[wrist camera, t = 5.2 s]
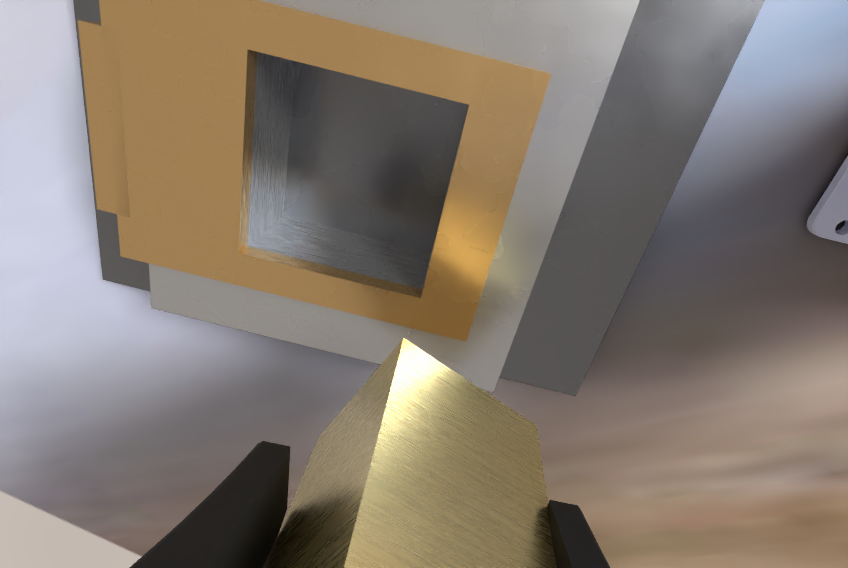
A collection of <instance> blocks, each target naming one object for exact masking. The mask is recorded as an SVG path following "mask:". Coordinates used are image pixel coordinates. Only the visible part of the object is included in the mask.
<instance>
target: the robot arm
mask: <svg viewBox="0 0 848 568" xmlns="http://www.w3.org/2000/svg"><path fill="white" fill-rule="evenodd" d="M844 220H845V224H844V226H843V227H842V228H841V229H839V230H837V231H835V228H836V226H837V225H838V224H839V223H840V222H842V221H844ZM807 228H808V230H809V231H810V232H811V233H813V234H815V235H817V236H819V237H821V238H825V239H829V240H833V241H838V242H842V243H846V244H848V156H847V158H846V159H845V161H844V162H843V164H842V165H841V167H840V169H839V170H838V172H837V173H836V175H835V177H834V178H833V180H832V181H831V183H830V184H829V186H828V188H827V189H826V191H825V192H824V194H823V196H822V197H821V199H820V200H819V202H818V203H817V205H816V207H815V208H814V210H813V211H812V213H811V215H810V216H809V218H808V221H807ZM289 460H290V447H289V446H284V445H280V444H275V443H270V442H265V441H262V442H261V443H259V444H257V446H256V447H255V448H254V449H253V450H252V451H251V452H250V453H249V454H248V456H247V457H246V458H245V459H244V460H243V461H242V462H241V463H240V464H239V465H238V466H237V467H236V468H235V469H234V471H233V472H232V473H231V474H230V475H229V476H228V477H227V478H226V479H225V480H224V481H223V482H222V483H221V484H220V485H219V486H218V487H217V488H216V489H215V490H214V491H213V492H212V493H211V494H210V495H209V496H208V497H207V498H206V499H205V500H204V501H203V502H202V503H201V504H199V505H198V506H197V507H196V508H195V509H194V510H193V511H192V512H191V513H190V514H189V515H188V516H187V517H186V518H185V519H184V520H183V521H182V522H181V523H180V524H179V525H177V526H176V527H175V528H174V529H173V530H172V531H171V532H170V533H169V534H167V535H166V536H165V537H164V538H163V539H162V540H161V541H159V542H158V543H157V544H156V545H155V546H154V547H153V548H152V549H150V550H149V551H148V552H147V553H146V554H145V555H144V556H142V557H141V558H140V559H139V560H138V561H137V562H136V563H134V564H133V565H132V566H131V567H130V568H265V566H266V564H267V561H268V559H269V556H270V554H271V552H272V549H273V547H274V544H275V542H276V539H277V536H278V533H279V531H280V528H281V525H282V522H283V519H284V516H285V513H286V510H287V499H288V480H289ZM547 510H548V517H549V524H550V531H551V538H552V544H553V551H554V556H555V561H556V565H557V568H610V566H609V565H608V563H607V561H606V559H605V557H604V555H603V553H602V551H601V549H600V547H599V545H598V543H597V541H596V539H595V537H594V535H593V533H592V531H591V529H590V527H589V525H588V523H587V521H586V519H585V517H584V515H583V513H582V511H581V510H580V508H579V507H578V506H577V505H572V504H567V503H562V502H558V501H553V500H550V501H549V503H548V506H547Z"/></svg>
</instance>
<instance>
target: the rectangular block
mask: <svg viewBox="0 0 848 568" xmlns="http://www.w3.org/2000/svg"><path fill="white" fill-rule="evenodd" d="M547 506H548V499H547V492H546V486H545V479H544V472H543V466H542V459H541V452H540V445H539V439H538V432H537V426H536V425H535V424H533V423H532V422H530V421H529V420H527V419H526V418H524V417H522V416H521V415H519V414H518V413H516V412H515V411H513V410H512V409H510V408H509V407H507V406H506V405H504V404H503V403H501V402H500V401H498V400H497V399H495V398H494V397H492V396H491V395H489V394H488V393H486V392H485V391H483V390H482V389H480V388H479V387H477V386H476V385H474V384H473V383H471V382H470V381H468V380H466V379H465V378H463V377H462V376H460V375H459V374H457V373H456V372H454V371H453V370H451V369H450V368H448V367H447V366H445V365H444V364H442V363H441V362H439V361H438V360H436V359H435V358H433V357H432V356H430V355H429V354H427V353H426V352H424V351H423V350H421V349H420V348H418V347H417V346H415V345H413V344H412V343H410V342H409V341H407V340H406V339H404V338H403V340H402V341H401V342H400V343H399V344H398V345H397V347H396V348H395V349H394V350H393V351H392V352H391V354H390V355H389V356H388V357H387V358H386V359H385V360H384V362H383V363H382V364H381V365H380V366H379V367H378V369H377V370H376V371H375V372H374V373H373V374H372V376H371V377H370V378H369V379H368V380H367V381H366V383H365V384H364V385H363V386H362V387H361V388H360V389H359V391H358V392H357V393H356V394H355V395H354V396H353V398H352V399H351V400H350V401H349V402H348V403H347V405H346V406H345V407H344V408H343V409H342V410H341V412H340V413H339V414H338V415H337V416H336V417H335V418H334V420H333V421H332V422H331V423H330V424H329V425H328V427H327V428H326V429H325V430H324V431H323V432H322V434H321V435H320V436H319V438H318V440H317V443H316V445H315V447H314V450H313V452H312V455H311V457H310V460H309V462H308V464H307V467H306V469H305V472H304V474H303V477H302V479H301V481H300V484H299V486H298V489H297V491H296V493H295V496H294V498H293V501H292V503H291V506H290V508H289V510H288V513H287V515H286V518H285V520H284V523H283V525H282V527H281V530H280V532H279V535H278V537H277V539H276V542H275V544H274V547H273V549H272V552H271V554H270V556H269V559H268V561H267V564H266V566H265V568H557V565H556V561H555V556H554V551H553V544H552V538H551V531H550V524H549V517H548V510H547Z"/></svg>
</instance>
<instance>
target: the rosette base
mask: <svg viewBox="0 0 848 568" xmlns="http://www.w3.org/2000/svg"><path fill="white" fill-rule="evenodd" d="M764 1H765V0H74V10H75V19H76V29H77V38H78V48H79V57H80V67H81V76H82V86H83V95H84V105H85V114H86V124H87V133H88V143H89V152H90V162H91V171H92V181H93V190H94V200H95V209H96V219H97V228H98V238H99V247H100V257H101V266H102V276H103V280H107V281H111V282H115V283H119V284H123V285H127V286H131V287H135V288H139V289H143V290H147V291H150V293H151V308H154V309H158V310H162V311H166V312H170V313H174V314H178V315H182V316H186V317H190V318H194V319H198V320H202V321H206V322H210V323H215V324H219V325H223V326H227V327H231V328H235V329H239V330H243V331H247V332H251V333H255V334H259V335H263V336H267V337H271V338H275V339H280V340H284V341H288V342H292V343H296V344H300V345H304V346H308V347H312V348H316V349H320V350H324V351H328V352H332V353H336V354H340V355H345V356H349V357H353V358H357V359H361V360H365V361H369V362H373V363H377V364H382V363H383V362H384V360H385V359H386V358H387V357H388V356H389V355H390V354H391V352H392V351H393V350H394V349H395V348H396V347H397V345H398V344H399V343H400V342H401V341H402V340H403V338H404V339H406V340H407V341H409V342H410V343H412V344H413V345H415V346H417V347H418V348H420V349H421V350H423V351H424V352H426V353H427V354H429V355H430V356H432V357H433V358H435V359H436V360H438V361H439V362H441V363H442V364H444V365H445V366H447V367H448V368H450V369H451V370H453V371H454V372H456V373H457V374H459V375H460V376H462V377H463V378H465V379H466V380H468V381H470V382H471V383H473V384H474V385H476V386H477V387H479V388H480V389H483V390H487V391H491V392H494V390H495V387H496V384H497V382H498V379H499V377H500V378H505V379H509V380H513V381H517V382H521V383H525V384H529V385H533V386H537V387H541V388H545V389H549V390H553V391H557V392H561V393H565V394H569V395H573V396H576V394H577V392H578V389H579V387H580V385H581V383H582V381H583V379H584V377H585V375H586V373H587V371H588V369H589V366H590V364H591V362H592V360H593V358H594V356H595V354H596V352H597V350H598V348H599V346H600V343H601V341H602V339H603V337H604V335H605V333H606V331H607V329H608V327H609V325H610V323H611V320H612V318H613V316H614V314H615V312H616V310H617V308H618V306H619V304H620V302H621V300H622V297H623V295H624V293H625V291H626V289H627V287H628V285H629V283H630V281H631V279H632V277H633V275H634V272H635V270H636V268H637V266H638V264H639V262H640V260H641V258H642V256H643V254H644V252H645V249H646V247H647V245H648V243H649V241H650V239H651V237H652V235H653V233H654V231H655V229H656V226H657V224H658V222H659V220H660V218H661V216H662V214H663V212H664V210H665V208H666V206H667V203H668V201H669V199H670V197H671V195H672V193H673V191H674V189H675V187H676V185H677V183H678V180H679V178H680V176H681V174H682V172H683V170H684V168H685V166H686V164H687V162H688V160H689V157H690V155H691V153H692V151H693V149H694V147H695V145H696V143H697V141H698V139H699V137H700V134H701V132H702V130H703V128H704V126H705V124H706V122H707V120H708V118H709V116H710V114H711V112H712V109H713V107H714V105H715V103H716V101H717V99H718V97H719V95H720V93H721V91H722V89H723V86H724V84H725V82H726V80H727V78H728V76H729V74H730V72H731V70H732V68H733V66H734V63H735V61H736V59H737V57H738V55H739V53H740V51H741V49H742V47H743V45H744V43H745V40H746V38H747V36H748V34H749V32H750V30H751V28H752V26H753V24H754V22H755V20H756V17H757V15H758V13H759V11H760V9H761V7H762V5H763V3H764Z"/></svg>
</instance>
